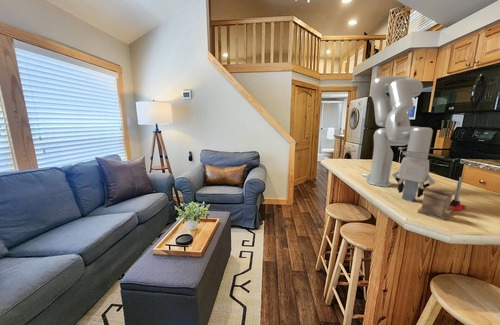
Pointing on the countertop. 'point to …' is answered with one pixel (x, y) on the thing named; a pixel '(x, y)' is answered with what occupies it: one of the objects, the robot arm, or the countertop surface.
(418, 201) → the countertop surface
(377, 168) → the robot arm
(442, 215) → the ribbed brown block
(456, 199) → the tow hook
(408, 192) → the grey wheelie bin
